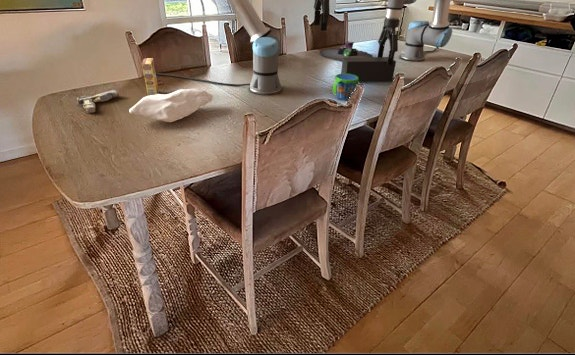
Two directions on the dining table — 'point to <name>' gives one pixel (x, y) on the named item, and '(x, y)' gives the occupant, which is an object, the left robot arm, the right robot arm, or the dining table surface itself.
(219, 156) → the dining table surface
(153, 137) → the dining table surface
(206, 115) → the dining table surface
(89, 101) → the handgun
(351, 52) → the grey round platform
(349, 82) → the snack cup
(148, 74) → the candy box
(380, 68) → the box
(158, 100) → the crumpled cloth
